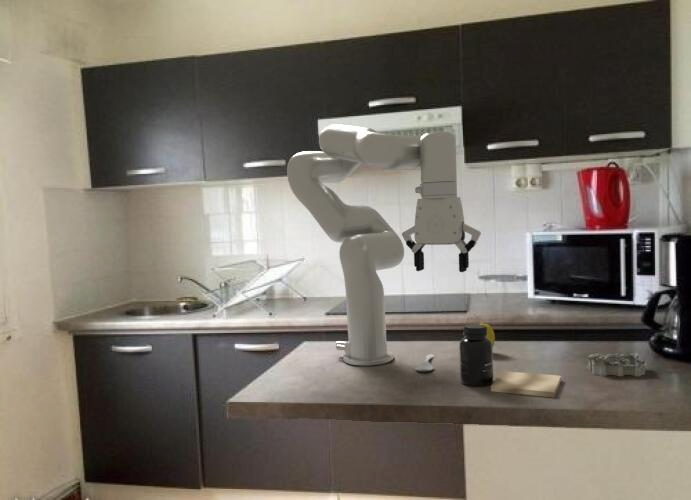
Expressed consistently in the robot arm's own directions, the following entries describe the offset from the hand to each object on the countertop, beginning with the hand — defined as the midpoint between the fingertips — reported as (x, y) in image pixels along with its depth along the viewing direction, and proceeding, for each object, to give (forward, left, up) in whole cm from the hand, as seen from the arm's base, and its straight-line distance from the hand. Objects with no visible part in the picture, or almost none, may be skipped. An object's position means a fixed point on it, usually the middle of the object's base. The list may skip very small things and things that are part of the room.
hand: (441, 270), depth 120 cm
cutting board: (+17, -1, -24) cm, 29 cm away
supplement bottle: (+7, -1, -24) cm, 25 cm away
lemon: (+3, +22, -24) cm, 33 cm away
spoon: (-8, +11, -24) cm, 28 cm away
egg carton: (+33, +15, -24) cm, 44 cm away
